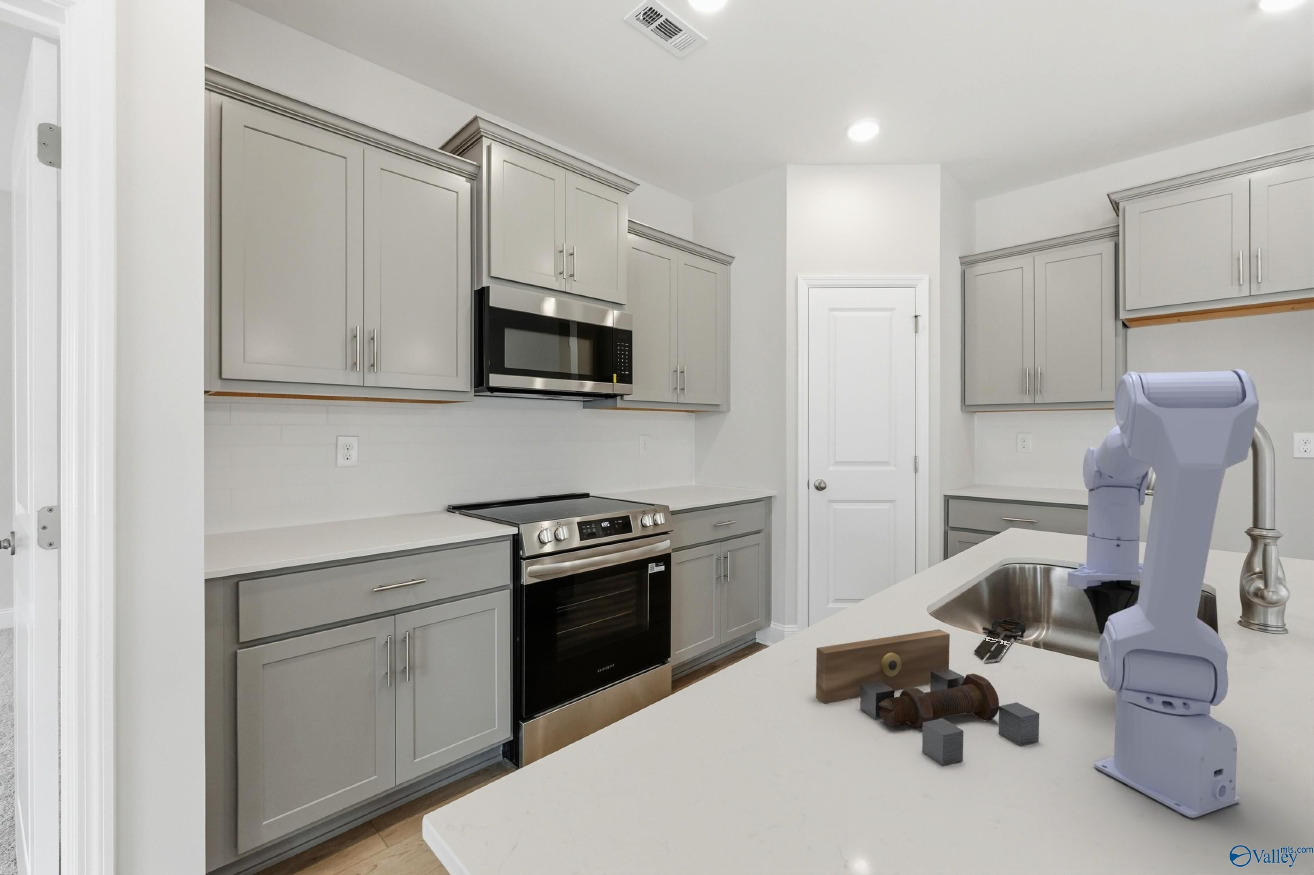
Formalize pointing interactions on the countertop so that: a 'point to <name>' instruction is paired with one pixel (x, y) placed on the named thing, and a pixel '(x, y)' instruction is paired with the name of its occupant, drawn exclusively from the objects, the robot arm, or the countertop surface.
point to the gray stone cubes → (945, 737)
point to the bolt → (942, 703)
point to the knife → (1000, 648)
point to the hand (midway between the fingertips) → (1110, 635)
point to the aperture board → (880, 663)
